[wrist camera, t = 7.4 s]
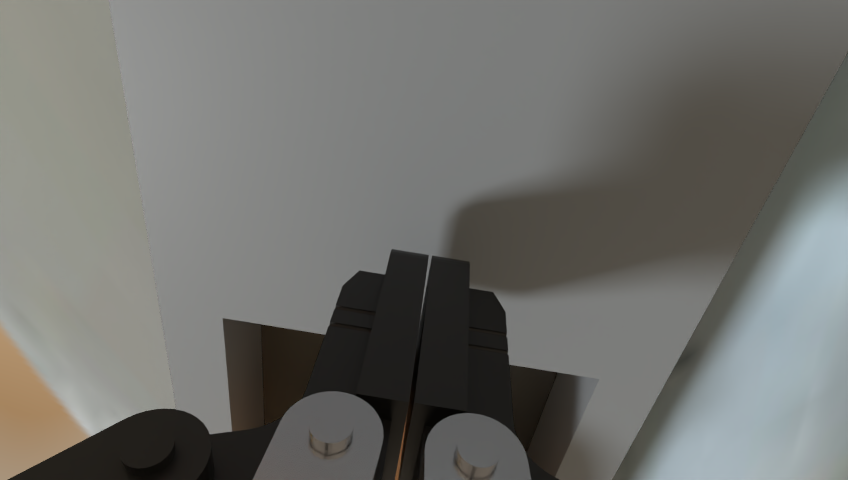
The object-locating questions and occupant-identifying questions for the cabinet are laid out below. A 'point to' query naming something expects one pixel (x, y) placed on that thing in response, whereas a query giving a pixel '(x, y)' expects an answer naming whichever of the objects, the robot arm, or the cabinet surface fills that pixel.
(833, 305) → the cabinet surface
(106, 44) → the cabinet surface
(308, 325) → the board
